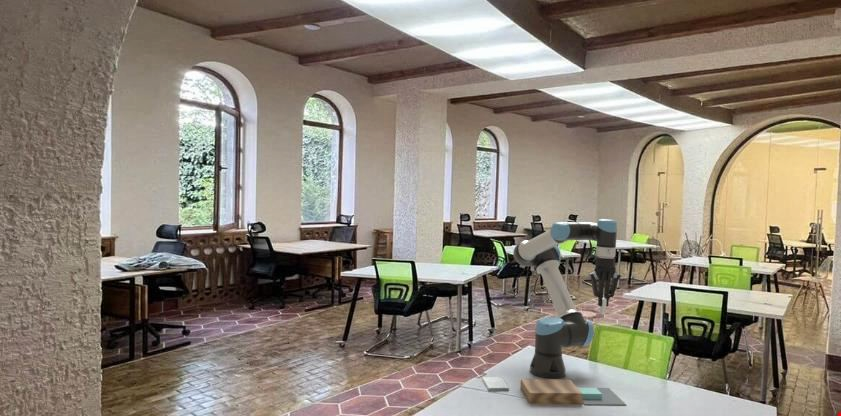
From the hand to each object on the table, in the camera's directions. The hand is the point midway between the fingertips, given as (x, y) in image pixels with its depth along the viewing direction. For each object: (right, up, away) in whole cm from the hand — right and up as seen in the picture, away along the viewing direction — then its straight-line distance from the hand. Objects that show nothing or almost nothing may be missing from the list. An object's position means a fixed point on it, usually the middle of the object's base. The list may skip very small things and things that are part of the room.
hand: (602, 313), depth 219 cm
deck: (-25, -29, -13) cm, 41 cm away
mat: (-6, -30, -12) cm, 33 cm away
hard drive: (-45, -29, -3) cm, 53 cm away
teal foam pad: (-10, -29, -13) cm, 33 cm away
